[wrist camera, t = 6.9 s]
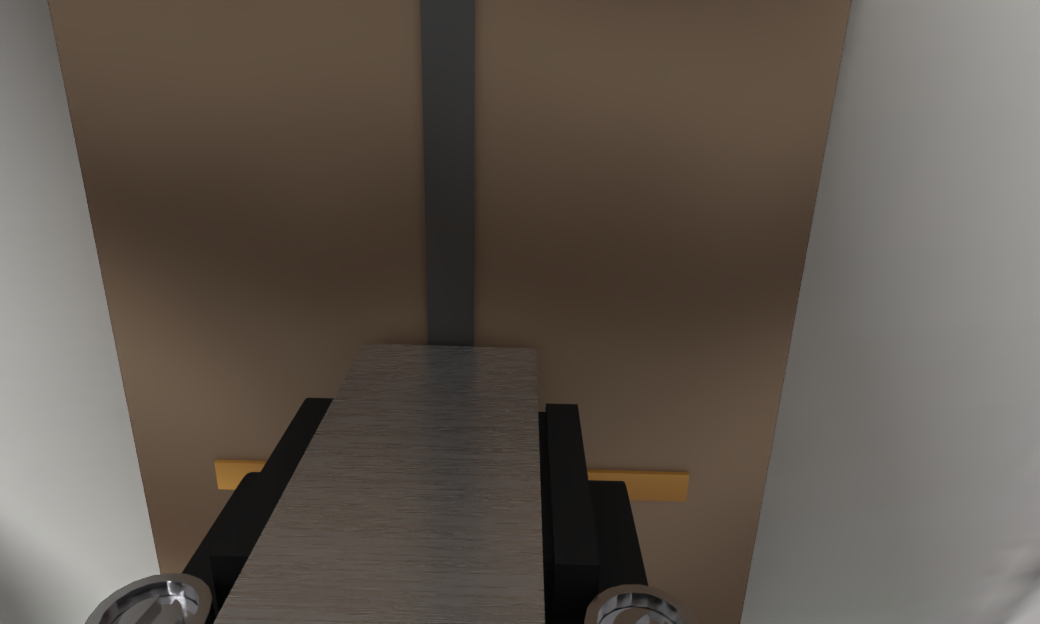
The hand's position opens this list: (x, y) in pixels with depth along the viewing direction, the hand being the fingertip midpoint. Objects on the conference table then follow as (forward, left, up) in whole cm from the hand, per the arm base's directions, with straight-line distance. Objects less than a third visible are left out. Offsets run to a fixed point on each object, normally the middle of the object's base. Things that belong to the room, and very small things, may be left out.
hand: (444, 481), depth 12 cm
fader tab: (0, 0, -1) cm, 1 cm away
